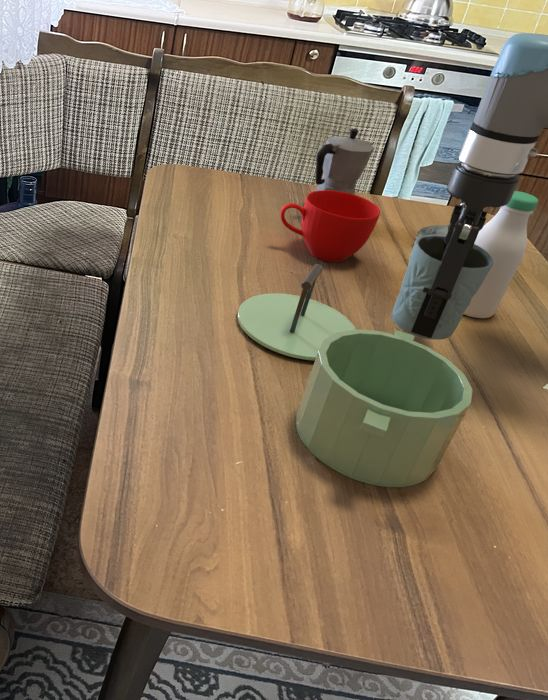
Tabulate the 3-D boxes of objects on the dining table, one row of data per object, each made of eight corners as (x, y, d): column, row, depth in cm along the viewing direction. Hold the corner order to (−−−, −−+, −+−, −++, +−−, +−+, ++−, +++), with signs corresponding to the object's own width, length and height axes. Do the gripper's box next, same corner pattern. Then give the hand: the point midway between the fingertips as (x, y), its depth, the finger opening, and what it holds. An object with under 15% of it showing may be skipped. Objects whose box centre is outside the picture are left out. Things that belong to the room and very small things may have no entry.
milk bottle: (503, 320, 113) (562, 207, 101) (459, 318, 112) (514, 204, 100) (477, 296, 119) (530, 187, 108) (436, 295, 118) (485, 184, 107)
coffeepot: (332, 201, 151) (357, 119, 140) (366, 218, 144) (396, 133, 134) (282, 211, 143) (306, 125, 133) (316, 229, 137) (344, 140, 127)
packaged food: (488, 260, 132) (499, 236, 129) (439, 264, 128) (449, 240, 126) (456, 241, 139) (465, 218, 136) (408, 244, 135) (417, 221, 132)
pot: (444, 415, 90) (478, 350, 84) (424, 525, 73) (464, 453, 67) (318, 370, 96) (340, 306, 90) (273, 462, 79) (297, 391, 73)
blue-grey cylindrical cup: (413, 301, 105) (442, 229, 99) (474, 333, 98) (510, 258, 92) (372, 316, 100) (399, 242, 94) (433, 351, 94) (468, 273, 87)
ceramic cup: (267, 232, 134) (280, 183, 128) (353, 243, 133) (370, 194, 127) (275, 262, 123) (290, 210, 117) (370, 274, 122) (389, 222, 117)
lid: (365, 323, 108) (387, 268, 102) (342, 379, 94) (364, 319, 89) (256, 288, 114) (271, 234, 109) (220, 335, 101) (234, 277, 95)
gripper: (520, 201, 77) (445, 363, 89) (522, 153, 93) (459, 295, 106) (448, 185, 79) (386, 344, 92) (463, 141, 96) (409, 281, 108)
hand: (425, 318), depth 99 cm, fingers closed on blue-grey cylindrical cup, 9 cm apart
